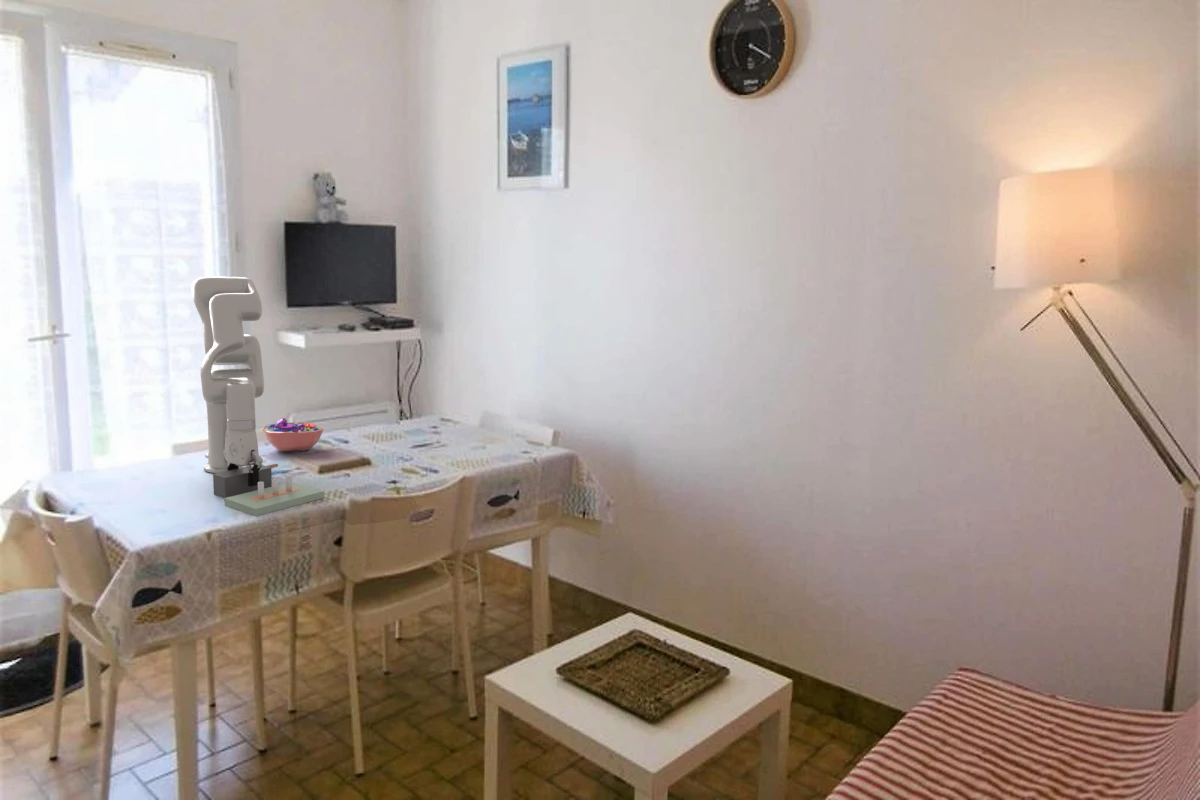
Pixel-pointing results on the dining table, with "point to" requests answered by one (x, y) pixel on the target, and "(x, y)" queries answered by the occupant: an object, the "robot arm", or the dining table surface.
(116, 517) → the dining table surface
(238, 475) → the block
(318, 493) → the header board
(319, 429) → the cell model
